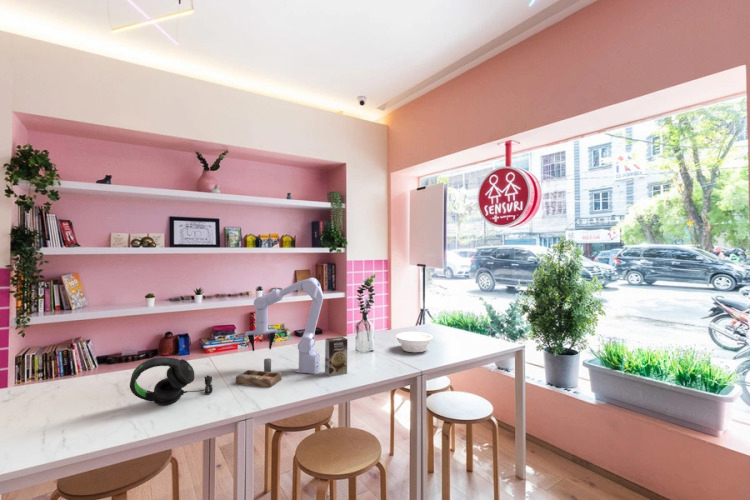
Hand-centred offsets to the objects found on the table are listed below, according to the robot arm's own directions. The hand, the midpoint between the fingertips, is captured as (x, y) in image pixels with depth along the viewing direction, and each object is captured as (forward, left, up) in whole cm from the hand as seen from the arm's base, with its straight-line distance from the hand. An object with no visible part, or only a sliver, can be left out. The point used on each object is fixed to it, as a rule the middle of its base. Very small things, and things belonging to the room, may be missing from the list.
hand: (261, 349), depth 166 cm
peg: (-5, +4, -10) cm, 12 cm away
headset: (+14, +39, -10) cm, 42 cm away
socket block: (-7, +14, -10) cm, 19 cm away
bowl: (-67, -51, -10) cm, 85 cm away
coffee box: (-36, -4, -10) cm, 38 cm away
